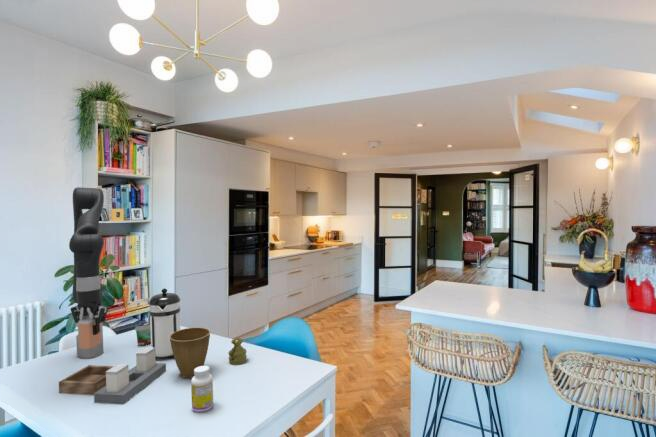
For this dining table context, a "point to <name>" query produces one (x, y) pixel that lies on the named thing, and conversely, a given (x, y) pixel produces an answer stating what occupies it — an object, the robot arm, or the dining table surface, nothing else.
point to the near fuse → (117, 378)
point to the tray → (85, 380)
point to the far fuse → (145, 359)
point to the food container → (143, 334)
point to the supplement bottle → (202, 389)
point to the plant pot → (190, 349)
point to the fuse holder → (130, 385)
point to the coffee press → (164, 321)
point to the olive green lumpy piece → (237, 352)
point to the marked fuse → (88, 334)
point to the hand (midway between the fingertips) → (90, 333)
